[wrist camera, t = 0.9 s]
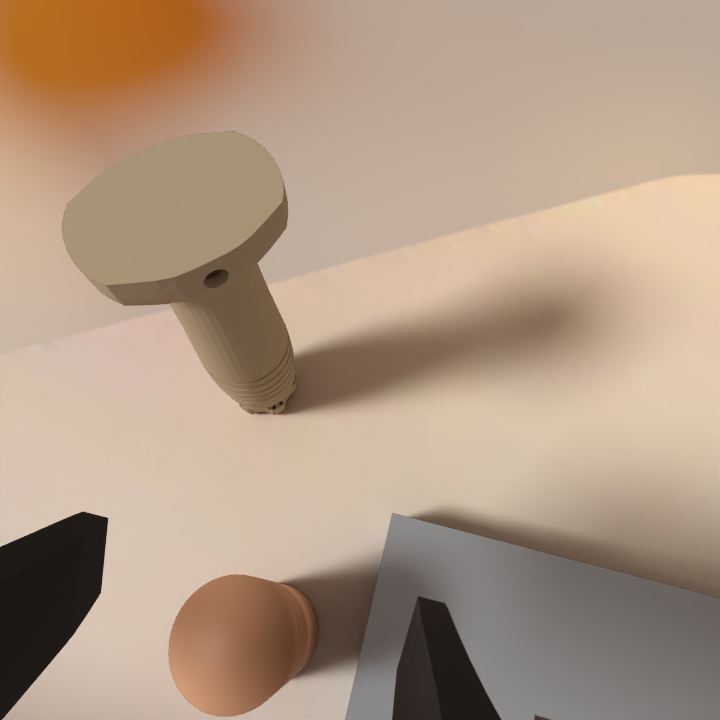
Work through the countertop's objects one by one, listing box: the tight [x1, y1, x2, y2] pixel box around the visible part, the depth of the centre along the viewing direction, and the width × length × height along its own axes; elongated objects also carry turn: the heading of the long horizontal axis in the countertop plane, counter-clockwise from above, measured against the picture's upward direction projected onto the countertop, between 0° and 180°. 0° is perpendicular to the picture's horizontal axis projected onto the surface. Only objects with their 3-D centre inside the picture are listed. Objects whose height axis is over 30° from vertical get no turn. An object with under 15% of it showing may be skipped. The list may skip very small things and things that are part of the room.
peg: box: [169, 575, 318, 717], centre depth 21 cm, size 4×4×8 cm
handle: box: [62, 131, 297, 415], centre depth 23 cm, size 5×6×15 cm
